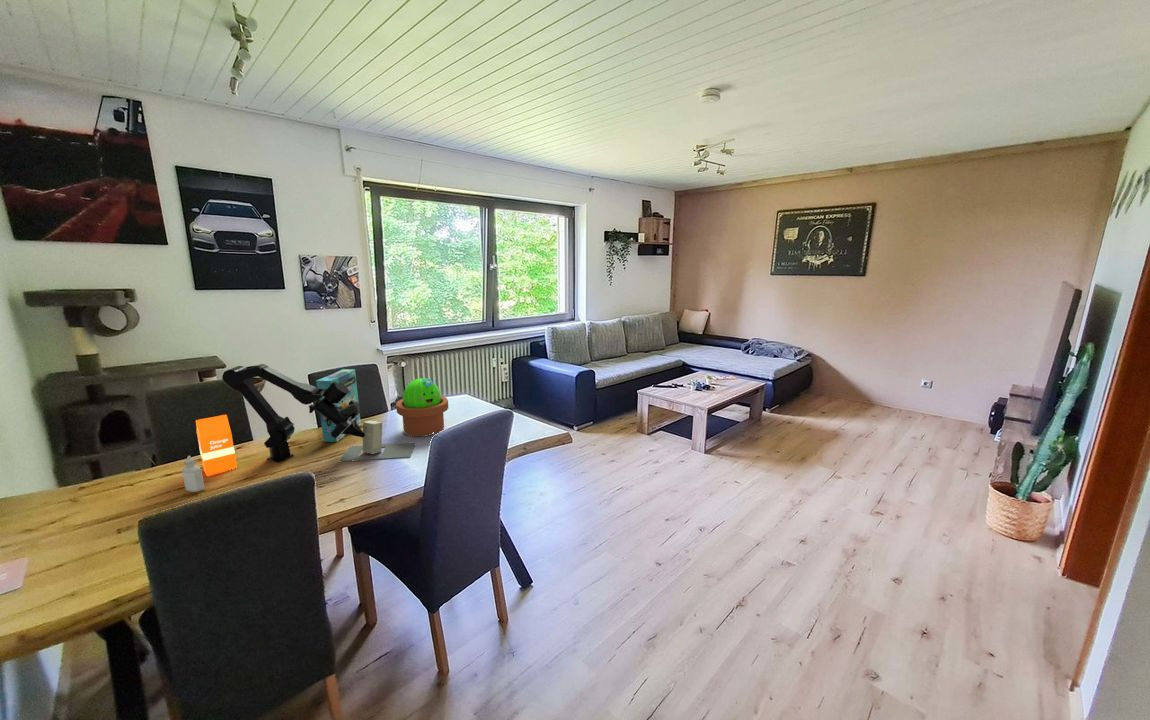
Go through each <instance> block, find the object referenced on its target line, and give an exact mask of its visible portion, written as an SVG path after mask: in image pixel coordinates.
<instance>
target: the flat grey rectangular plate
mask: <svg viewBox="0 0 1150 720" xmlns="http://www.w3.org/2000/svg"><path fill="white" fill-rule="evenodd" d="M415 444H417V442H403V443H402V442H400V443H385V444H383V443H382V446H381V449H382V447H385V448H384V449H383V451H382V452H381V454H380V455H375V456H373V455H371V456H359V455H360V454H359V453H361V452H362V451H361V450H362V447H363V445H350V446H349V447H348V448H347V450H346V451H345V452H344V454H343V455H342V456H341V457H340V458H339V460H338V462H339V461H348V462H353V461H352V460H364V461H376V460H392V459H393V460H394V459H405V458H406V459H410V458H411V456H412V455H411V454H413V452H414V449H415V448H416V445H415ZM360 451H361V452H360ZM358 454H359V455H358Z"/></svg>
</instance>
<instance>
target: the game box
mask: <svg viewBox="0 0 1150 720" xmlns="http://www.w3.org/2000/svg"><path fill="white" fill-rule="evenodd" d="M356 374H357V373H356V369H352V368H351V369H350V368H349V369H348V368H344V369H343V368H342V369H341V370H338V371H336V372H334V373H332V374H329V375H327V376H326V375H325V376H324V377H322V378H320V379H316V380H315V382H316V387H317V388H318V389H328V388H329V387H330V385H331V384H332V383H333V382H334V381H335V382H336V383H339V384H342V385H344V386H346V387H347V388H348V390H349V393H348V394H347V395H346V396H345V397H344V398H343V399H342V400H341V401H340V402H339V403H334V404H335V405H336V406H337V407H339V406H342V407H343V408H344V407H346V406H348V405H349V402H350V401H352V400H354V401H357V402H358V403H359V404H360V401H359V394H358V393H359V392H358V386H357V375H356ZM323 399H324V396H323V397H322V398H320V399H319V400H323ZM360 413H361V412H360ZM360 413H359V414H358V415H357V416H356V417H355V418H354V420H355V419H356V418H357V424H358V426H359V427H360V426H361V425H362V424H361V415H360ZM319 414H320V413H319ZM319 416H320V422H321V423H320V424H321V433H322V440H323V441H322V442H323V443H337V442H339V441H340V440H342V439H344V438H345V437H346V436H347V435H348V434H342V433H341V434H340V435H339V436H338V437H337V438H336V439H335V438H333V437H332V436H331V432H332V431H333V430H334V429H335V426H336V425H335V424H334V423H332V422H331V421H330V420H329V421H328V422H327V421H326V419H327V418H326V417H324V416H323V415H322V414H320V415H319Z"/></svg>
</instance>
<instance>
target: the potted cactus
mask: <svg viewBox="0 0 1150 720" xmlns="http://www.w3.org/2000/svg"><path fill="white" fill-rule="evenodd" d="M395 405H396V406H395V408H396V414H398V415H399V416H401V417H402V424H403V425H402V426H403V433H404V434H405V435H407V436H410V437H416V436H421V437H426V436H425V435H429V434H432V433H433V432H434V434H432V435H436V434H438V433H440V432H442V431H443V430H444V429H443V427H444V428H445V419H444V415H445V414H444V413H445V412H446V411H448V410H449V399H448V398H447V397H445V396H443V395H442V393H441V391H440V389H439V386H437V384H436V383H435V382H434V381H432V379H431V378H429V377H425V378H424V377H423V378H422V377H421V378H420V377H419V378H416V379H412V380H411V381H410V382H409V383H408V384H407V386H406V387H405V389H404V391H403V394H402V399H399V400H398V401H396V403H395ZM441 430H442V431H441ZM439 431H440V432H439ZM437 432H438V433H437ZM432 435H431V436H432ZM429 436H430V435H429Z"/></svg>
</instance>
